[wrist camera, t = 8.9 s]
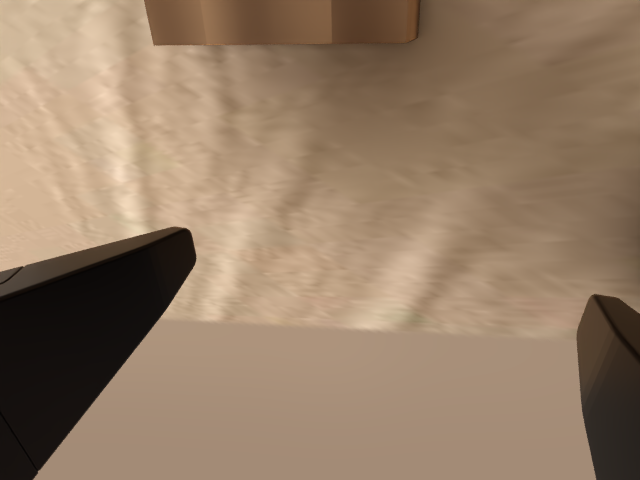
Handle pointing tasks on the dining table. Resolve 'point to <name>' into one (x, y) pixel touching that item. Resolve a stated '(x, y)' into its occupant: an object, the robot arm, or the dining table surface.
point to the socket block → (282, 21)
